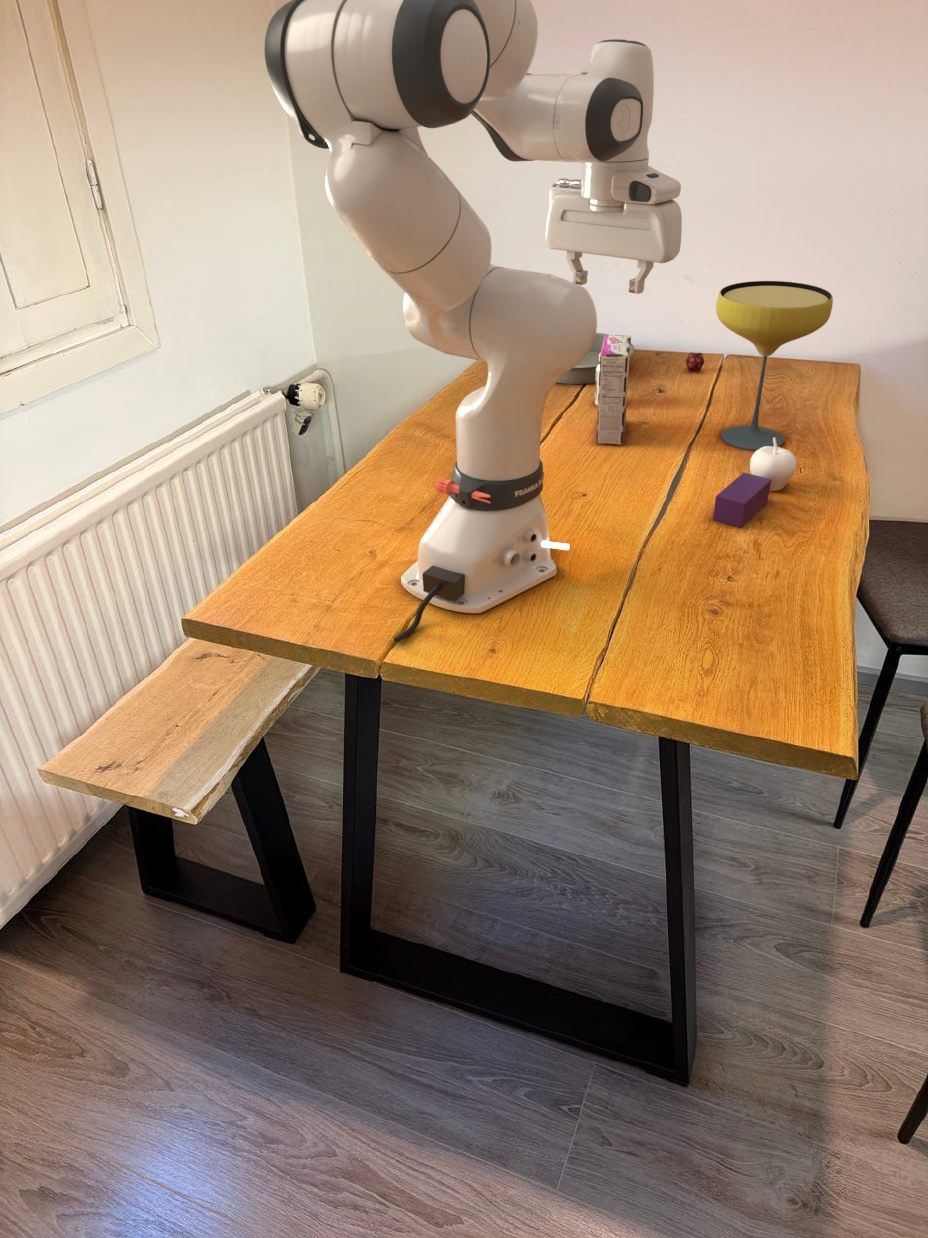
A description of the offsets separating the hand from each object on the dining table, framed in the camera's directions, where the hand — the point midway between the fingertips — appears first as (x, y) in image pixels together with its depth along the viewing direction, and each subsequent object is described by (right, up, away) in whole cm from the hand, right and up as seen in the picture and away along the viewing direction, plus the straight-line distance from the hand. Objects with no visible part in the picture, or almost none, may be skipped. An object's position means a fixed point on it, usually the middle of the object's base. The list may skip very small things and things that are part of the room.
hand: (607, 288), depth 128 cm
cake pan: (+4, +7, +65) cm, 66 cm away
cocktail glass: (+31, -16, +30) cm, 46 cm away
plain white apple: (+28, -27, +14) cm, 41 cm away
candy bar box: (+6, -14, +34) cm, 37 cm away
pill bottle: (+8, -6, +47) cm, 48 cm away
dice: (+28, +5, +62) cm, 68 cm away
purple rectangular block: (+21, -31, +7) cm, 39 cm away
